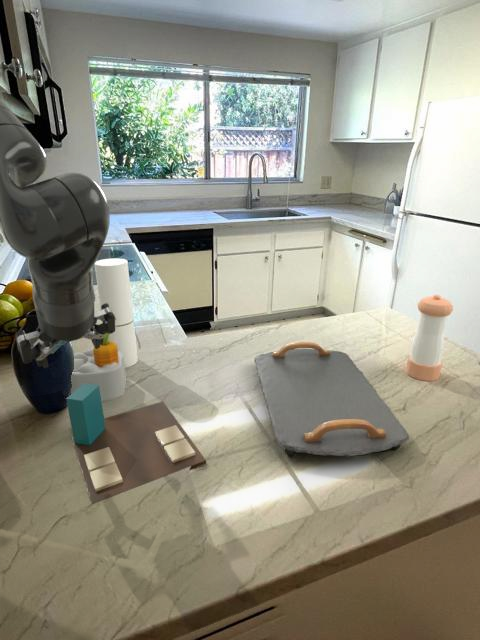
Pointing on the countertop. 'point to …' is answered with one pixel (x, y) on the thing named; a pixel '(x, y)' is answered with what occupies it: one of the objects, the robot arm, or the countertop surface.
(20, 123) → the robot arm
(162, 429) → the word board
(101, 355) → the carrot
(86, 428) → the teal rectangular block
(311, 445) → the serving tray
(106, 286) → the cylindrical container
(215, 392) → the countertop surface
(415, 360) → the pepper shaker
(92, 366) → the lumpy-topped squat cylinder
